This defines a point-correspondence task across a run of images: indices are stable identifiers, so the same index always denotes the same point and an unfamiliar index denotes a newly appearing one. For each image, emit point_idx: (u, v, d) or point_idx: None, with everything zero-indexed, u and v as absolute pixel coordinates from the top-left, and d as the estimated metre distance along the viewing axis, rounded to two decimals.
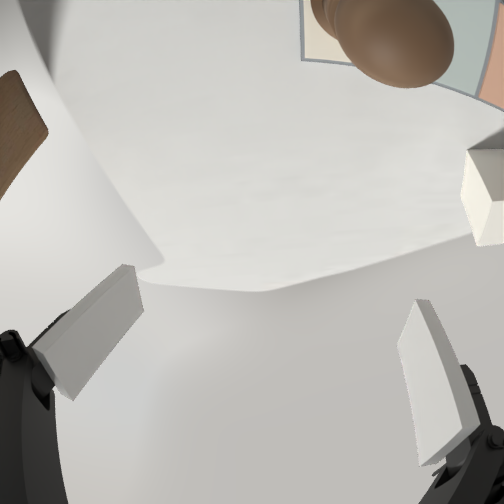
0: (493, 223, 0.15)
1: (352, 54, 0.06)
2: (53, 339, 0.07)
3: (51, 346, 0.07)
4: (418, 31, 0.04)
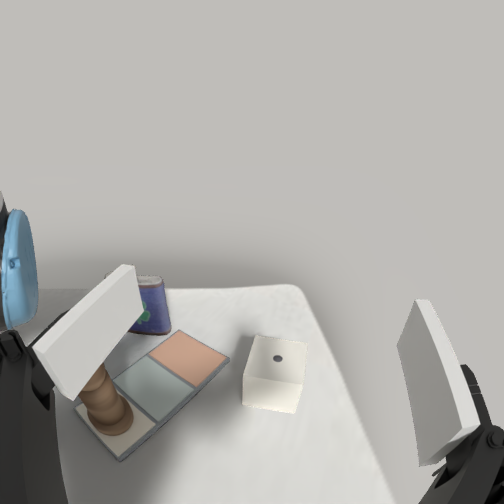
0: (272, 373, 0.26)
1: None
2: (53, 339, 0.07)
3: (51, 346, 0.07)
4: None
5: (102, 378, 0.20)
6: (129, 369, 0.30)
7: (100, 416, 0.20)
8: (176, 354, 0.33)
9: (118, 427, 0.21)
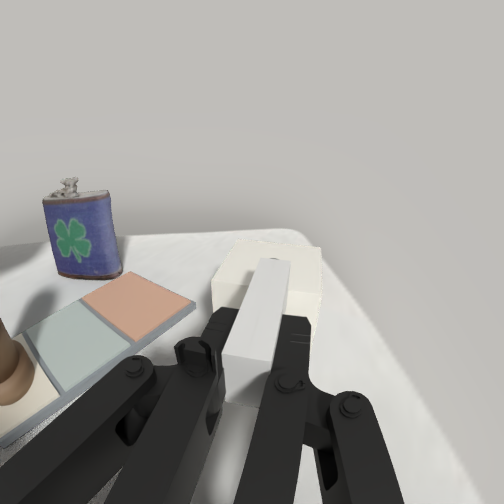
0: None
1: None
2: (246, 339, 0.08)
3: (249, 347, 0.08)
4: None
5: None
6: (50, 316, 0.18)
7: None
8: (118, 298, 0.22)
9: (2, 389, 0.09)
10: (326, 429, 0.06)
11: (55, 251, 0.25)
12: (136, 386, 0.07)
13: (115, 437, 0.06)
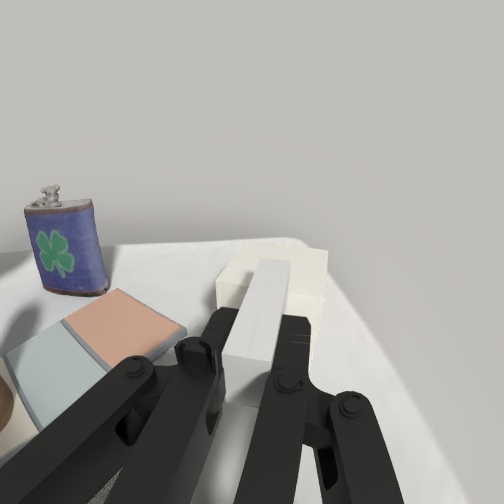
0: None
1: None
2: (246, 339, 0.08)
3: (249, 347, 0.08)
4: None
5: None
6: (31, 339, 0.15)
7: None
8: (101, 320, 0.19)
9: None
10: (326, 429, 0.06)
11: (38, 264, 0.22)
12: (136, 386, 0.07)
13: (115, 437, 0.06)
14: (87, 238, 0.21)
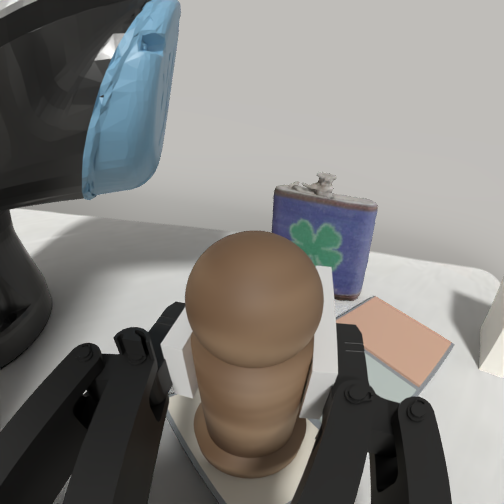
0: None
1: (228, 306, 0.06)
2: (186, 332, 0.09)
3: (187, 340, 0.08)
4: (245, 232, 0.08)
5: None
6: None
7: (243, 440, 0.08)
8: (379, 329, 0.19)
9: (276, 463, 0.09)
10: (393, 435, 0.05)
11: None
12: (87, 369, 0.07)
13: (74, 420, 0.06)
14: (366, 241, 0.21)
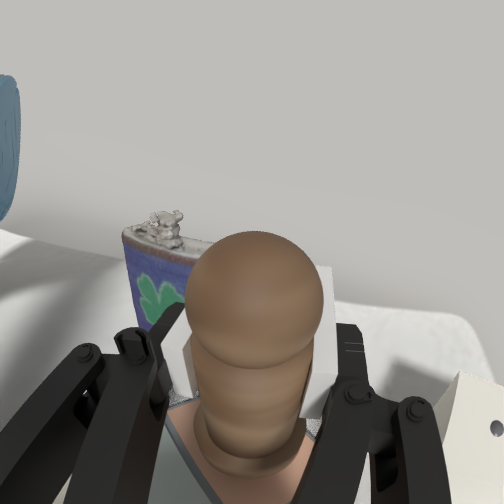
0: (487, 464, 0.05)
1: (227, 307, 0.06)
2: (186, 333, 0.09)
3: (187, 340, 0.08)
4: (244, 232, 0.08)
5: (318, 326, 0.07)
6: None
7: (243, 441, 0.08)
8: None
9: (276, 463, 0.09)
10: (393, 435, 0.05)
11: (137, 308, 0.19)
12: (87, 369, 0.07)
13: (74, 420, 0.06)
14: None
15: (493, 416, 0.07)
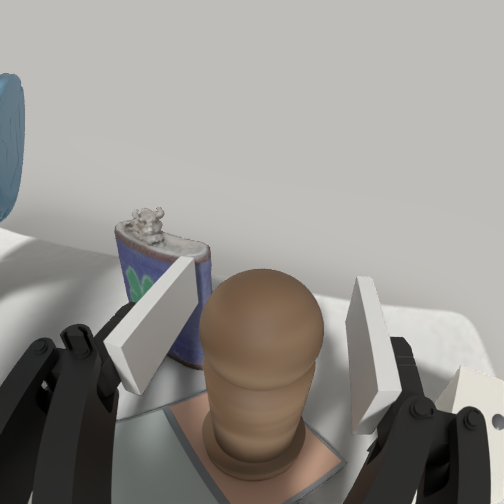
0: None
1: (240, 344, 0.07)
2: (128, 331, 0.08)
3: (128, 338, 0.08)
4: (254, 272, 0.08)
5: (317, 355, 0.08)
6: (116, 426, 0.12)
7: (249, 448, 0.09)
8: None
9: (277, 467, 0.10)
10: (451, 445, 0.05)
11: (129, 299, 0.20)
12: (43, 360, 0.07)
13: (38, 409, 0.06)
14: None
15: (494, 410, 0.07)
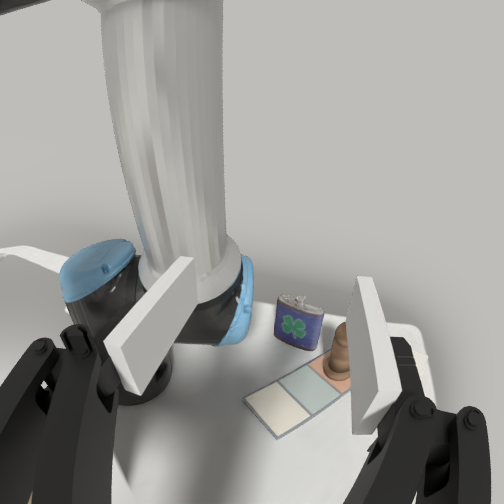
0: None
1: (346, 336, 0.38)
2: (128, 331, 0.08)
3: (128, 338, 0.08)
4: None
5: None
6: (292, 373, 0.43)
7: (341, 365, 0.40)
8: None
9: (347, 374, 0.40)
10: (451, 445, 0.05)
11: (278, 326, 0.51)
12: (43, 360, 0.07)
13: (37, 409, 0.06)
14: (317, 327, 0.46)
15: None
